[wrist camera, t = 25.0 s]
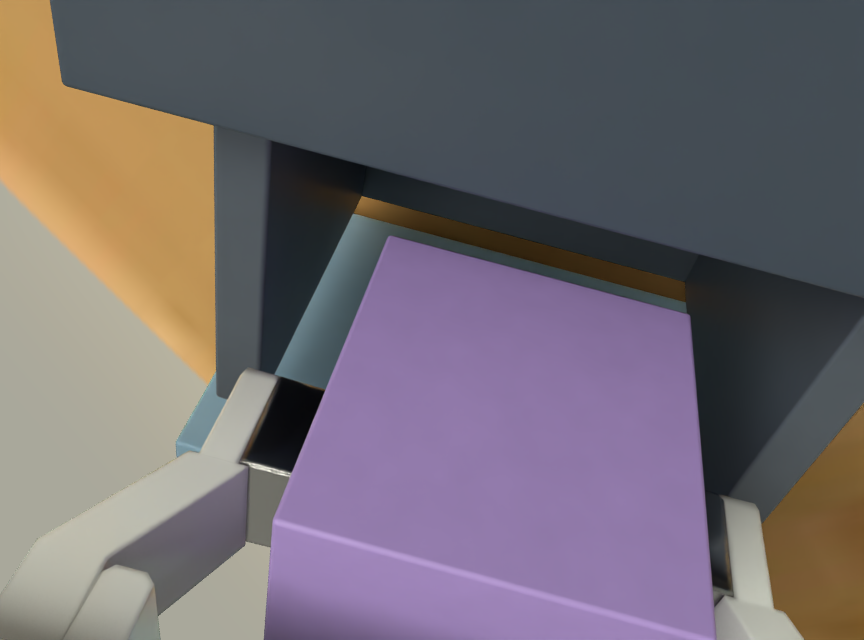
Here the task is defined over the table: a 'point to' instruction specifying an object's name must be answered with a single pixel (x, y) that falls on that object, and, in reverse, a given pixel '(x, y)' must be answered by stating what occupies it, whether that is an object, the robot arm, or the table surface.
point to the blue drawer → (365, 238)
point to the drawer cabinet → (535, 105)
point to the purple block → (497, 467)
